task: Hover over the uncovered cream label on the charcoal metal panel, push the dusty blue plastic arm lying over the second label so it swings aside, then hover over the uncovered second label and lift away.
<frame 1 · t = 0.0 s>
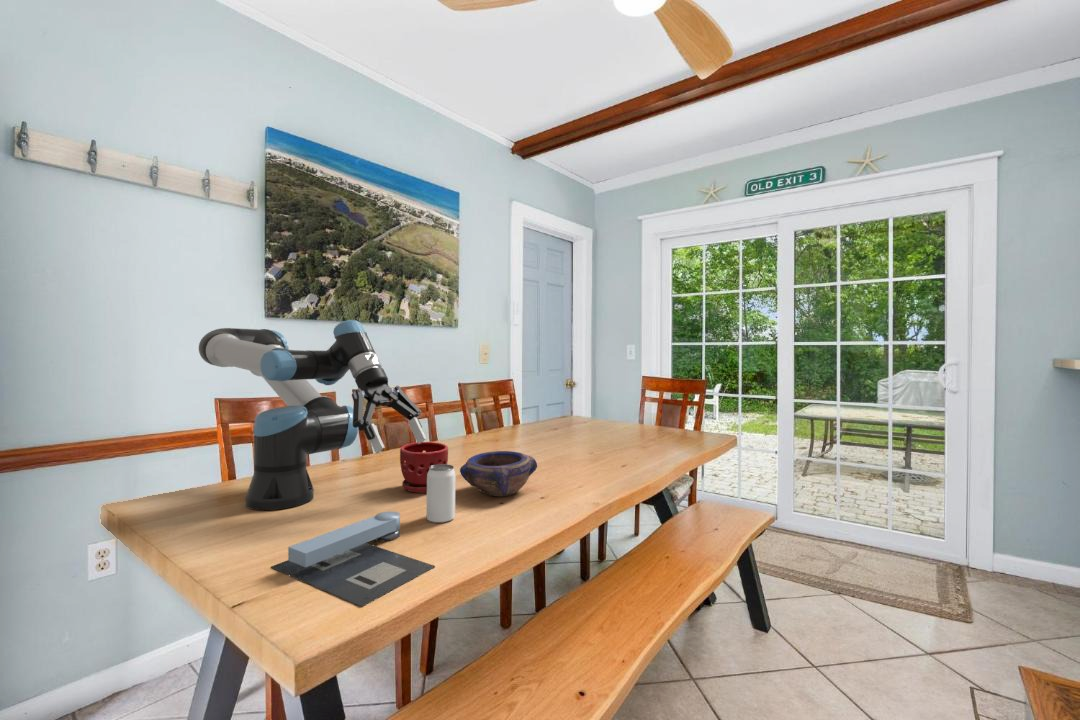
hand: (402, 445, 118), 15 cm above the table, tool tilted 35°, fingers open, 13 cm apart
bowl: (497, 493, 132), on the table
plant pot: (423, 489, 134), on the table
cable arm: (352, 535, 93), point 3 cm above the table, hinge at 0.0°
can: (440, 519, 111), on the table
arm pivot: (387, 536, 100), on the table
label panel: (353, 567, 86), on the table
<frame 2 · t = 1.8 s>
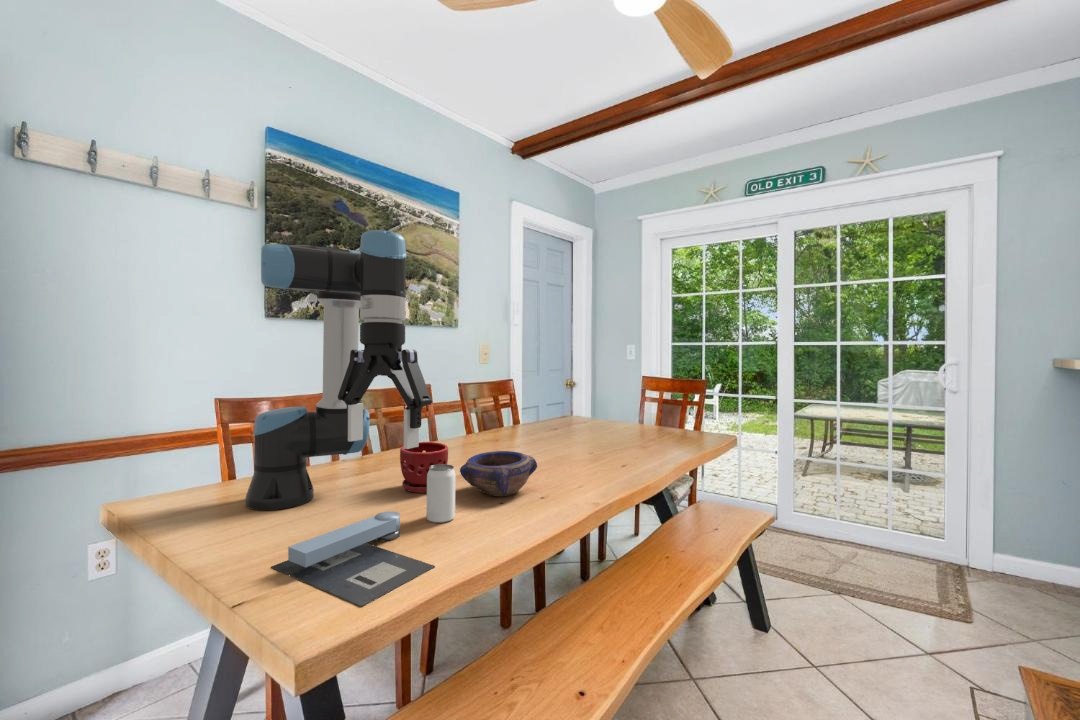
hand: (382, 444, 84), 23 cm above the table, tool pointing down, fingers open, 13 cm apart
nothing on the table moved.
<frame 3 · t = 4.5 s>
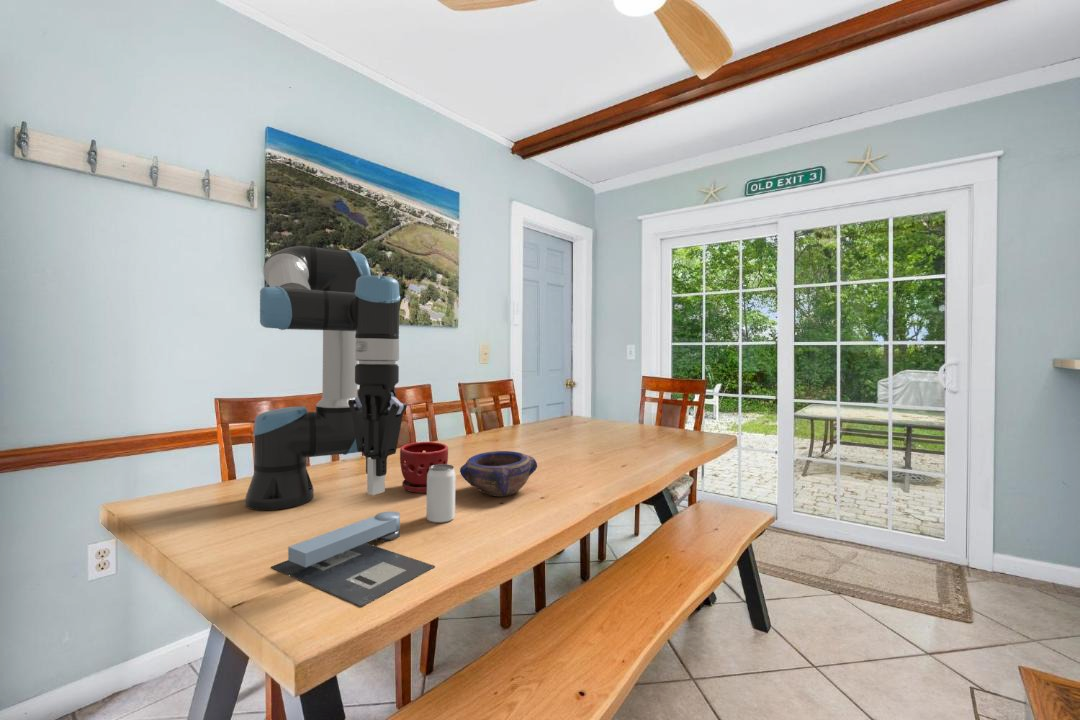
hand: (376, 492, 87), 13 cm above the table, tool pointing down, fingers closed
nothing on the table moved.
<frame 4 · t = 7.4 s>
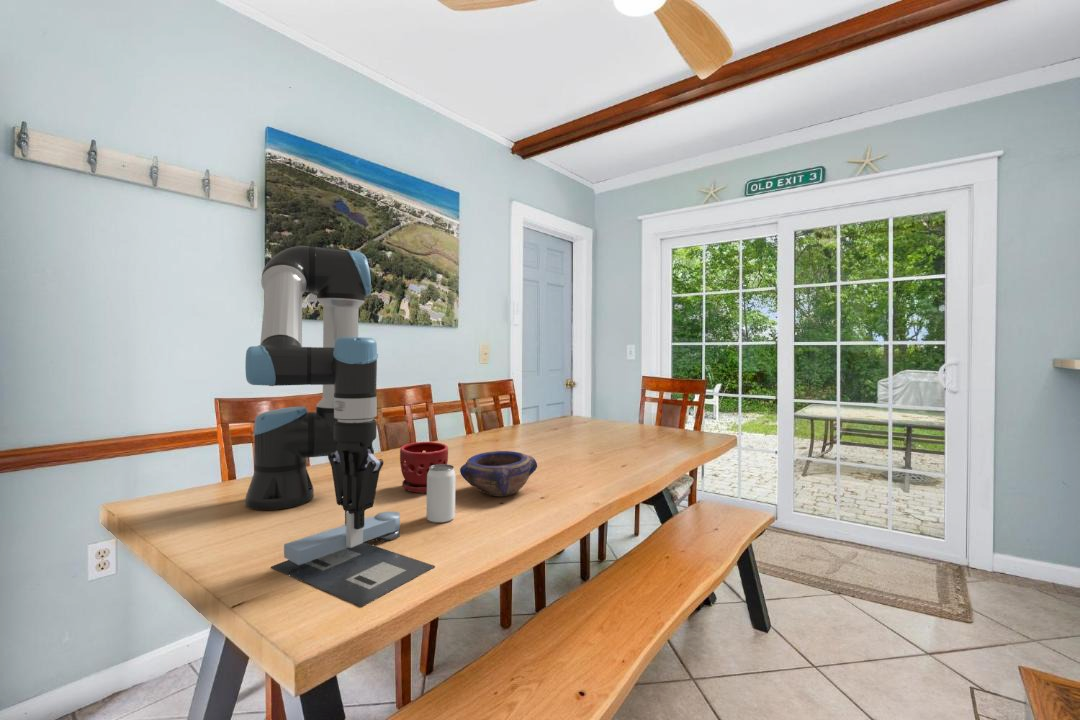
hand: (354, 544, 90), 2 cm above the table, tool pointing down, fingers closed
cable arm: (349, 534, 93), point 3 cm above the table, hinge at 5.0°, touching gripper
everything else where it was.
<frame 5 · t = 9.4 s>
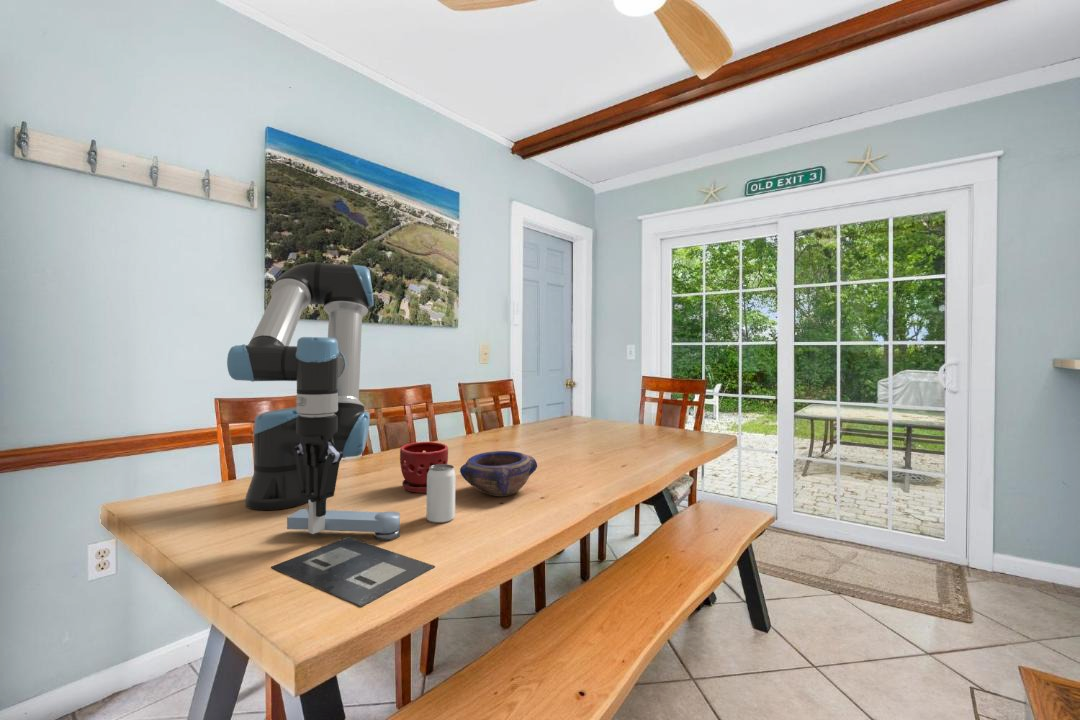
hand: (316, 530, 97), 2 cm above the table, tool pointing down, fingers closed
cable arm: (346, 520, 100), point 3 cm above the table, hinge at 61.5°, touching gripper
everything else where it was.
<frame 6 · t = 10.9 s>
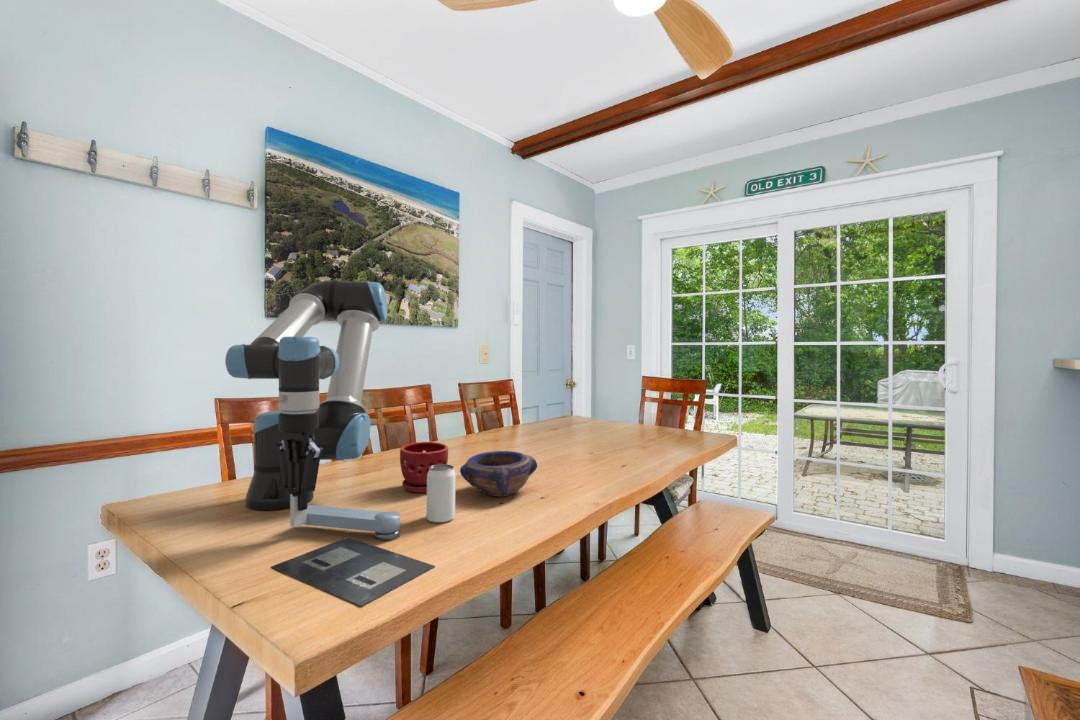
hand: (298, 524, 99), 2 cm above the table, tool pointing down, fingers closed
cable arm: (349, 518, 102), point 3 cm above the table, hinge at 70.1°, touching gripper
everything else where it was.
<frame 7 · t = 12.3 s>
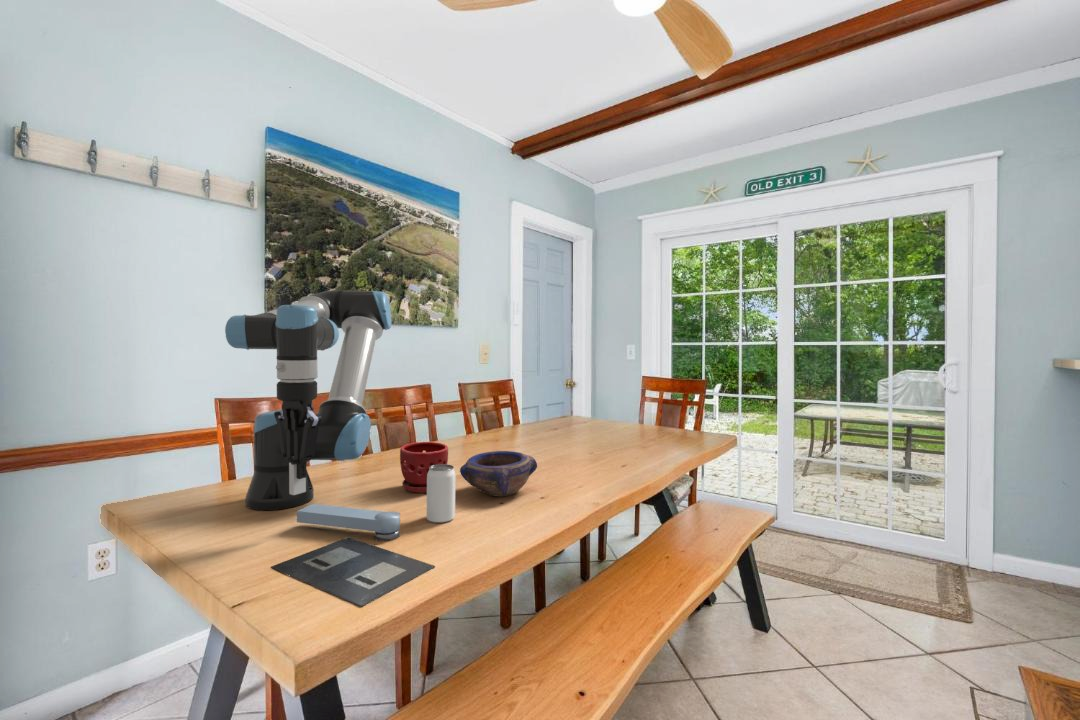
hand: (297, 492, 100), 9 cm above the table, tool pointing down, fingers closed
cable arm: (350, 517, 102), point 3 cm above the table, hinge at 72.6°
everything else where it was.
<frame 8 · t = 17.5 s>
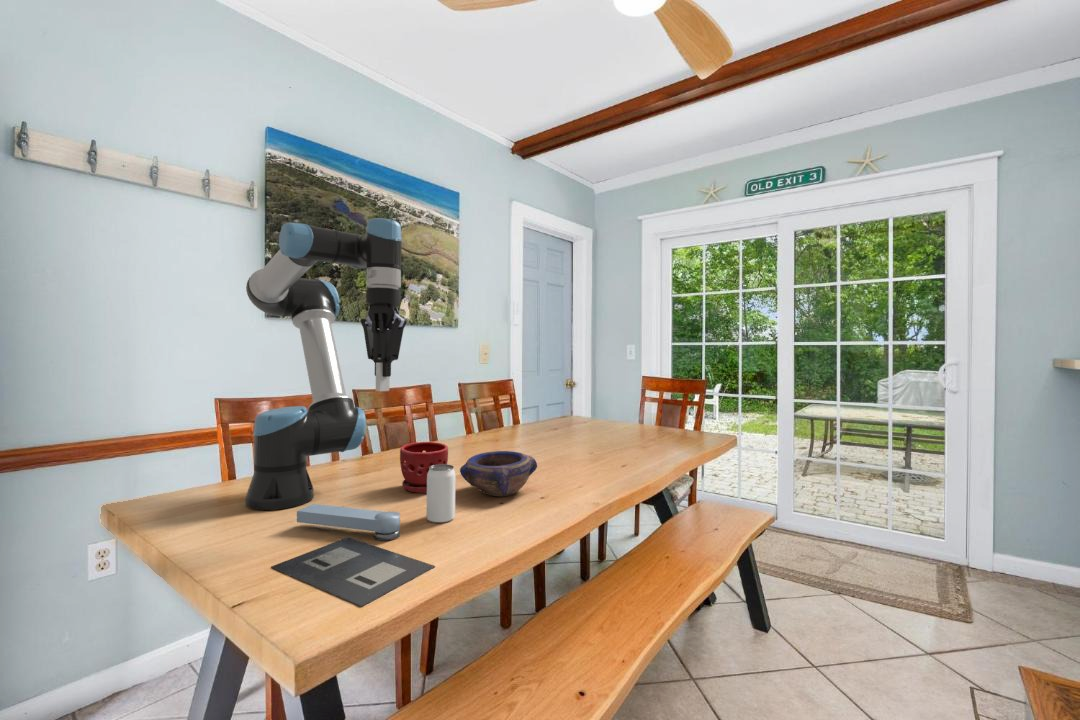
hand: (382, 390, 111), 29 cm above the table, tool pointing down, fingers closed
nothing on the table moved.
at the end: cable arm at +73° (first picture: +0°); the gripper is holding nothing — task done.
